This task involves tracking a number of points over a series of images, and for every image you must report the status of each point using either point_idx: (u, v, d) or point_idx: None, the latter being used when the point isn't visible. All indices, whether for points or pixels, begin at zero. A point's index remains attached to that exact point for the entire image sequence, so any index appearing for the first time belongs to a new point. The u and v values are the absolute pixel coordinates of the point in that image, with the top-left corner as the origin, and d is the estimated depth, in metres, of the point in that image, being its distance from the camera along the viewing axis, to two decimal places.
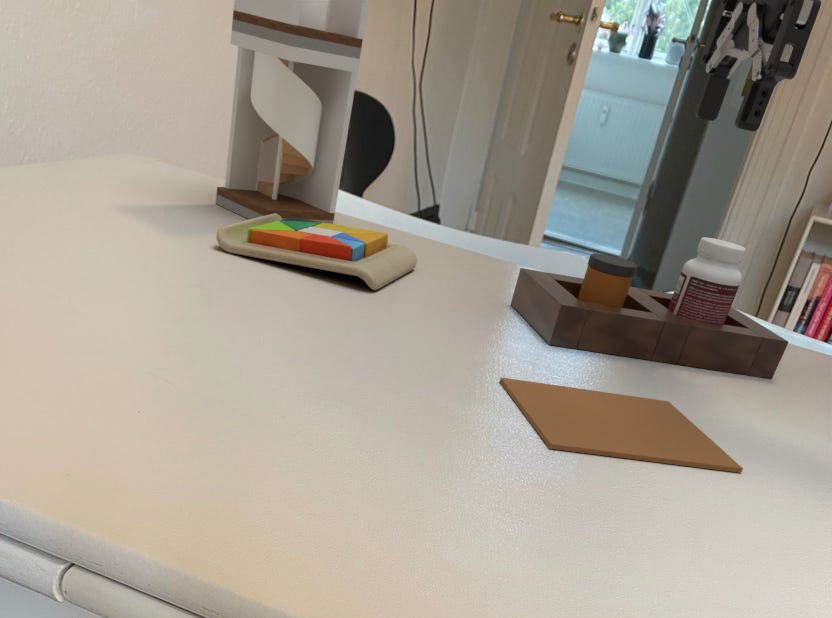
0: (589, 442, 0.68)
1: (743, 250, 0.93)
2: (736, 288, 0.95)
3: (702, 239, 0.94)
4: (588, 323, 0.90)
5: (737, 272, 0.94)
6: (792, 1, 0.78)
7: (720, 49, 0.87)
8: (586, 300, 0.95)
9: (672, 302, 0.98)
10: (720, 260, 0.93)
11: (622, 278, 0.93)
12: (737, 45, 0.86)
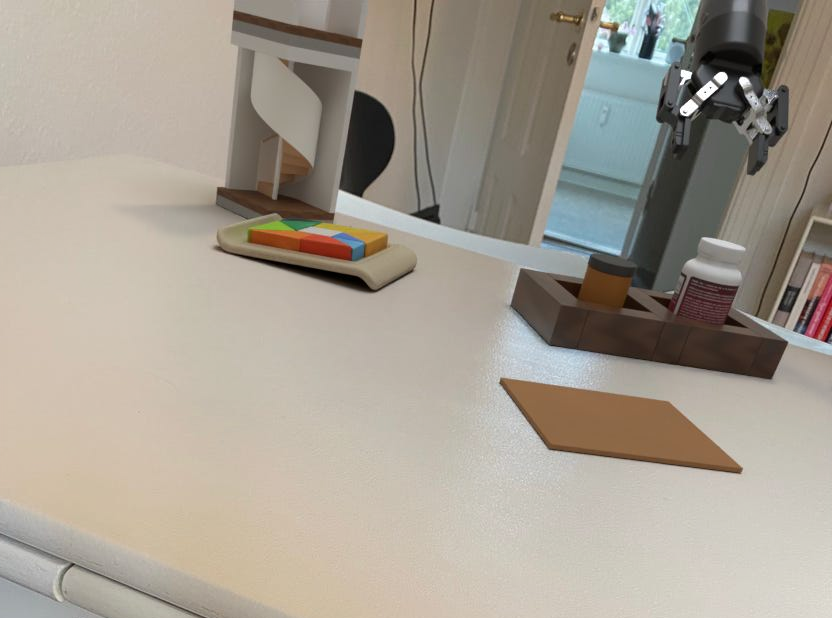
0: (589, 442, 0.68)
1: (743, 250, 0.93)
2: (736, 288, 0.95)
3: (702, 239, 0.94)
4: (588, 323, 0.90)
5: (737, 272, 0.94)
6: (786, 89, 1.01)
7: (703, 101, 1.00)
8: (586, 300, 0.95)
9: (672, 302, 0.98)
10: (721, 260, 0.93)
11: (622, 278, 0.93)
12: (719, 104, 1.00)
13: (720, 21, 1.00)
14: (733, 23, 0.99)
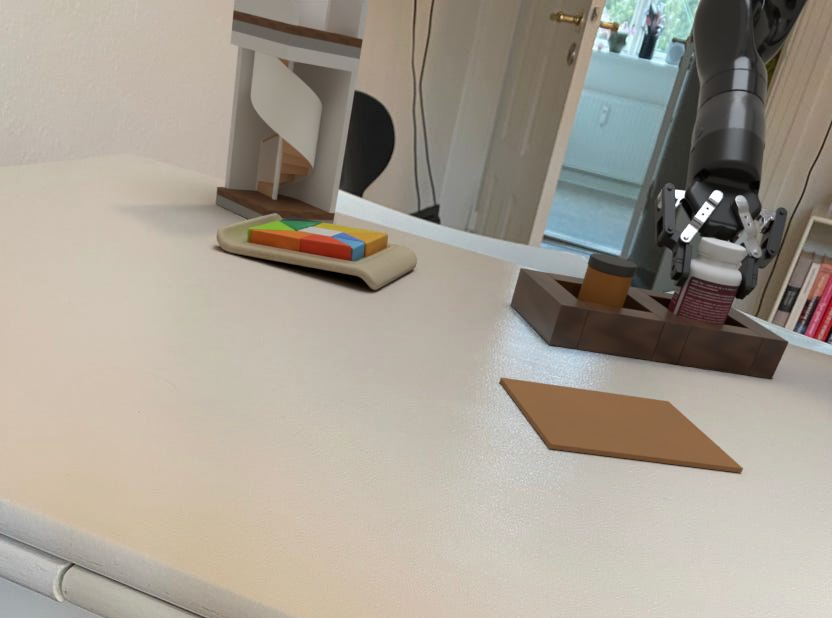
0: (589, 442, 0.68)
1: (743, 250, 0.93)
2: (737, 288, 0.95)
3: (702, 239, 0.94)
4: (588, 323, 0.90)
5: (737, 272, 0.94)
6: (784, 212, 0.96)
7: (703, 223, 0.95)
8: (586, 300, 0.95)
9: (673, 302, 0.98)
10: (721, 260, 0.93)
11: (622, 278, 0.93)
12: (718, 223, 0.96)
13: (715, 137, 0.95)
14: (729, 140, 0.95)
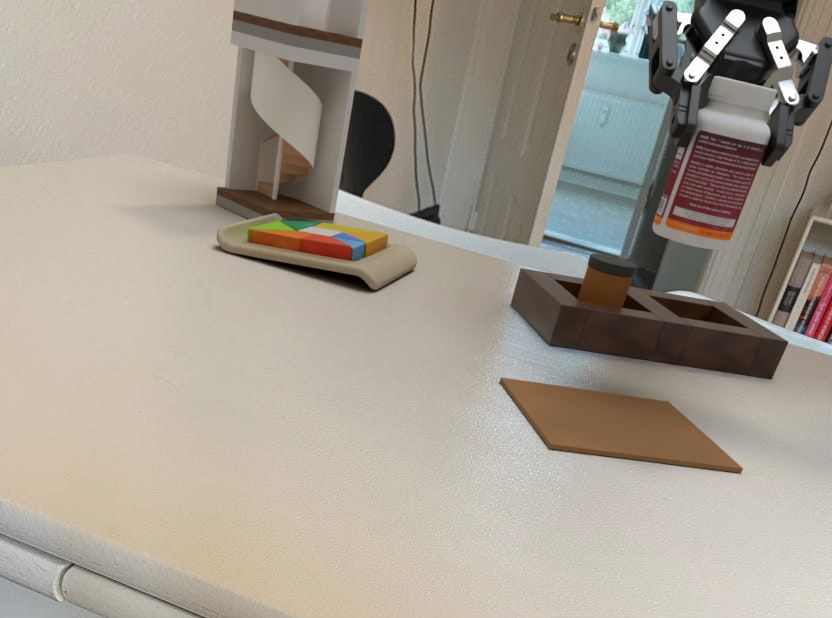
0: (589, 442, 0.68)
1: (774, 90, 0.65)
2: (763, 148, 0.67)
3: (715, 77, 0.66)
4: (588, 323, 0.90)
5: (764, 124, 0.67)
6: (831, 43, 0.68)
7: (716, 56, 0.67)
8: (586, 300, 0.95)
9: (673, 172, 0.70)
10: (741, 104, 0.65)
11: (622, 278, 0.93)
12: (738, 57, 0.68)
13: None
14: None
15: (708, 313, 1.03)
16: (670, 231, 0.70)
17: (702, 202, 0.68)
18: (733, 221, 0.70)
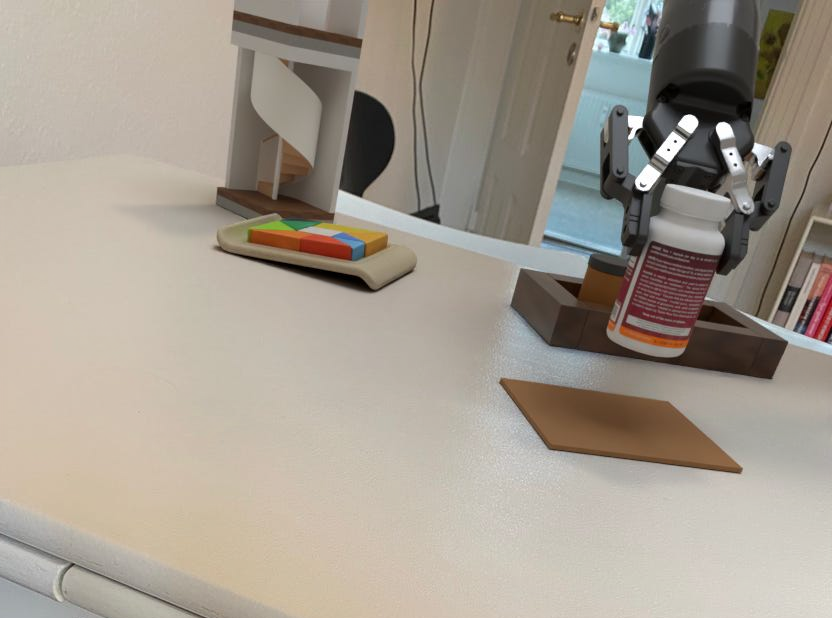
0: (589, 442, 0.68)
1: (727, 202, 0.63)
2: (717, 258, 0.65)
3: (667, 186, 0.64)
4: (588, 323, 0.90)
5: (718, 235, 0.64)
6: (787, 148, 0.66)
7: (668, 163, 0.65)
8: (586, 300, 0.95)
9: (626, 280, 0.67)
10: (694, 216, 0.63)
11: (622, 278, 0.93)
12: (691, 164, 0.65)
13: (686, 38, 0.65)
14: (707, 41, 0.64)
15: (708, 313, 1.03)
16: (624, 339, 0.68)
17: (656, 312, 0.66)
18: (688, 330, 0.68)
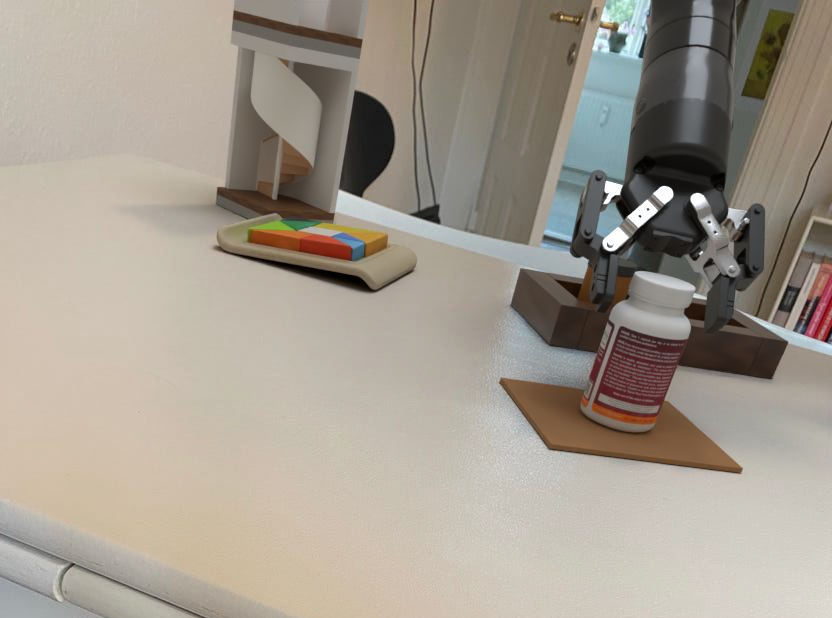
0: (589, 442, 0.68)
1: (691, 290, 0.67)
2: (684, 342, 0.68)
3: (635, 274, 0.68)
4: (588, 323, 0.90)
5: (684, 320, 0.68)
6: (761, 209, 0.69)
7: (637, 229, 0.67)
8: (586, 300, 0.95)
9: (597, 360, 0.71)
10: (660, 304, 0.67)
11: (622, 278, 0.93)
12: (661, 233, 0.68)
13: (662, 112, 0.68)
14: (681, 116, 0.67)
15: None
16: (596, 415, 0.71)
17: (625, 392, 0.69)
18: (657, 407, 0.71)
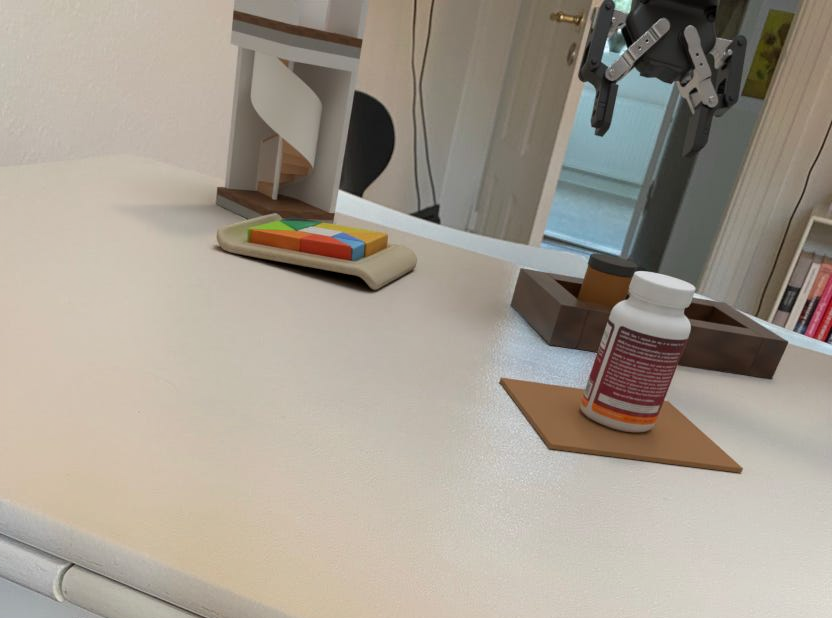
0: (589, 442, 0.68)
1: (691, 290, 0.67)
2: (684, 342, 0.68)
3: (635, 274, 0.68)
4: (588, 323, 0.90)
5: (684, 320, 0.68)
6: (743, 41, 0.80)
7: (636, 60, 0.79)
8: (586, 300, 0.95)
9: (597, 360, 0.71)
10: (660, 304, 0.67)
11: (622, 278, 0.93)
12: (656, 63, 0.80)
13: None
14: None
15: (708, 313, 1.03)
16: (596, 415, 0.71)
17: (625, 392, 0.69)
18: (657, 407, 0.71)
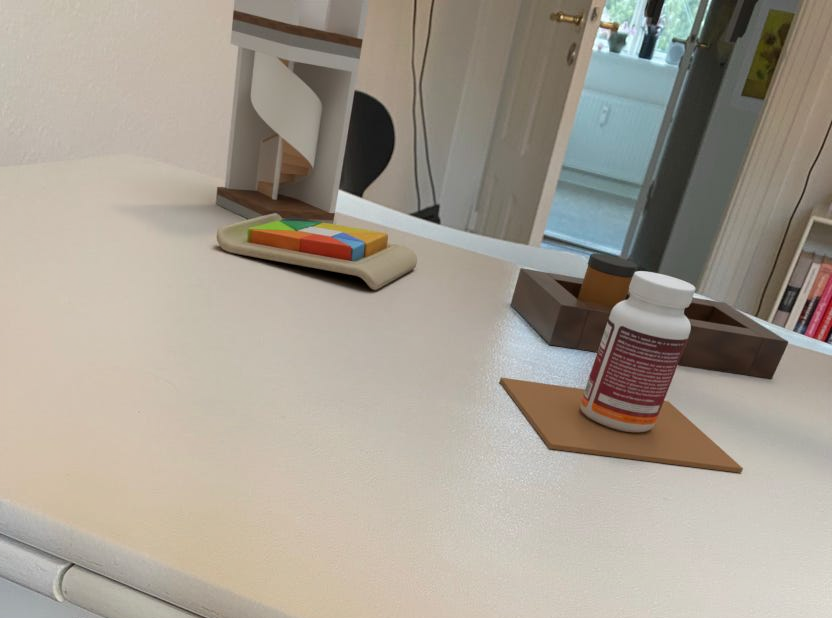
0: (589, 442, 0.68)
1: (691, 290, 0.67)
2: (683, 342, 0.68)
3: (635, 274, 0.68)
4: (588, 323, 0.90)
5: (684, 320, 0.68)
6: None
7: None
8: (586, 300, 0.95)
9: (597, 360, 0.71)
10: (660, 304, 0.67)
11: (622, 278, 0.93)
12: None
13: None
14: None
15: (708, 313, 1.03)
16: (596, 415, 0.71)
17: (625, 392, 0.69)
18: (657, 407, 0.71)
